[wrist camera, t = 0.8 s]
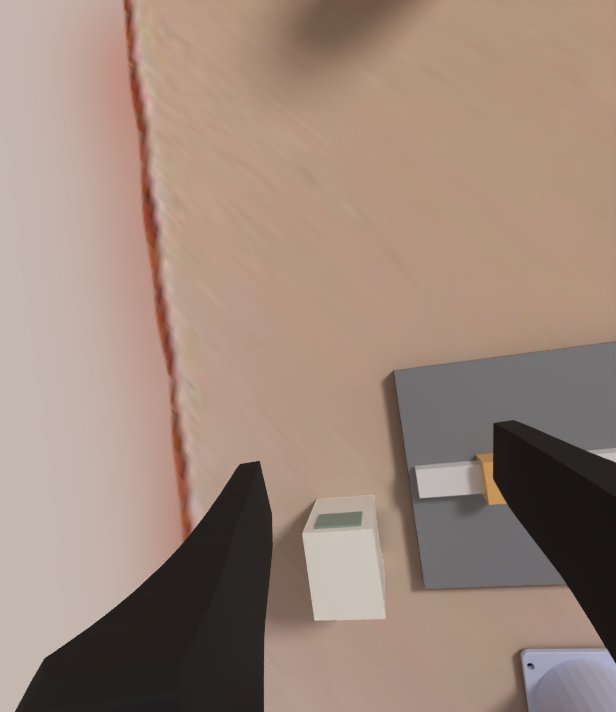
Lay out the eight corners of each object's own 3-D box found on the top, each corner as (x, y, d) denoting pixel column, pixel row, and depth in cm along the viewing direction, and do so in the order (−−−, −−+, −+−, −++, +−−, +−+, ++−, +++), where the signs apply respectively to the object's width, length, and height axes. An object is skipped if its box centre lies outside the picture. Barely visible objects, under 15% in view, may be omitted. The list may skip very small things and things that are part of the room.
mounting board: (768, 567, 26) (817, 595, 23) (423, 581, 30) (428, 606, 27) (732, 326, 26) (777, 323, 23) (393, 370, 30) (394, 372, 27)
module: (384, 566, 31) (385, 618, 25) (326, 569, 32) (314, 620, 26) (373, 492, 31) (372, 526, 25) (316, 496, 32) (301, 531, 26)
